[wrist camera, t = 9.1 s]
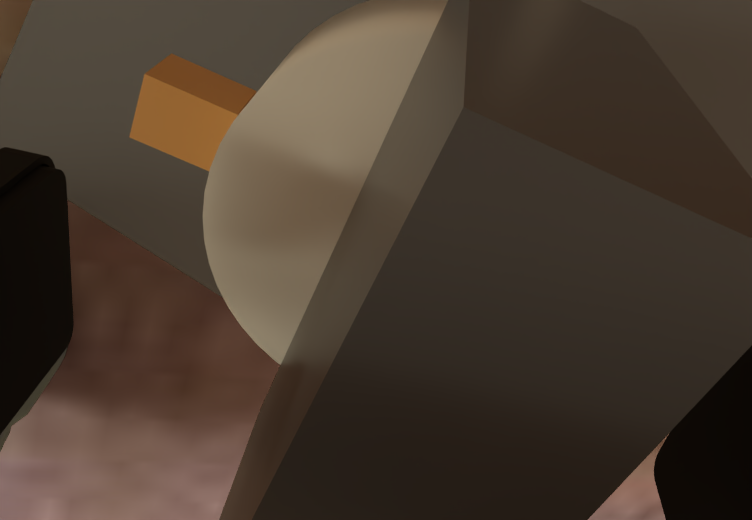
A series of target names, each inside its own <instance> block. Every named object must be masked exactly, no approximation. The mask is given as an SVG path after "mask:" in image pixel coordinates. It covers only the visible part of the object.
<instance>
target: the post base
mask: <svg viewBox="0 0 752 520" xmlns="http://www.w3.org/2000/svg"><path fill="white" fill-rule="evenodd" d="M366 1H369V0H33V2H32V4H31V6H30V9H29V11H28V13H27V16H26V18H25V21H24V23H23V25H22V28H21V30H20V33H19V35H18V37H17V40H16V42H15V44H14V47H13V49H12V52H11V54H10V56H9V59H8V61H7V64H6V66H5V68H4V71H3V73H2V76H1V78H0V149H1V148H4V147H9V148H14V149H18V150H23V151H27V152H32V153H36V154H41V155H45V156H49V157H50V158H51V159H52V161H53V163H54V165H55V169H60V170H62V171H63V172H64V174H65V177H66V185H67V200H69V201H71V202H72V203H74V204H75V205H77V206H78V207H80V208H82V209H83V210H85V211H86V212H88V213H90V214H91V215H93V216H94V217H96V218H97V219H99V220H101V221H102V222H104V223H105V224H107V225H109V226H110V227H112V228H113V229H115V230H116V231H118V232H120V233H121V234H123V235H124V236H126V237H128V238H129V239H131V240H132V241H134V242H135V243H137V244H139V245H140V246H142V247H143V248H145V249H147V250H148V251H150V252H151V253H153V254H154V255H156V256H158V257H159V258H161V259H162V260H164V261H166V262H167V263H169V264H170V265H172V266H173V267H175V268H177V269H178V270H180V271H181V272H183V273H185V274H186V275H188V276H189V277H191V278H192V279H194V280H196V281H197V282H199V283H200V284H202V285H204V286H205V287H207V288H208V289H210V290H211V291H213V292H215V293H216V294H218V295H219V296H221V297H222V295H221V293H220V291H219V289H218V287H217V284H216V282H215V279H214V276H213V273H212V270H211V268H210V265H209V261H208V256H207V252H206V247H205V242H204V231H203V204H204V192H205V188H206V183H207V179H208V175H209V171H207V170H205V169H202V168H200V167H198V166H195V165H193V164H191V163H188V162H186V161H183V160H181V159H179V158H176V157H174V156H172V155H169V154H167V153H165V152H162V151H160V150H158V149H155V148H153V147H151V146H148V145H146V144H144V143H141V142H139V141H137V140H134V139H132V138H130V137H129V136H130V132H131V128H132V124H133V119H134V115H135V111H136V107H137V103H138V99H139V94H140V90H141V86H142V82H143V78H144V74H145V73H146V72H148V71H149V70H150V69H152V68H153V67H154V66H156V65H157V64H158V63H160V62H161V61H162V60H163V59H165V58H166V57H167V56H169V55H170V54H171V53H172V54H174V55H176V56H178V57H181V58H183V59H185V60H187V61H190V62H192V63H194V64H196V65H199V66H201V67H203V68H205V69H208V70H210V71H212V72H214V73H217V74H219V75H221V76H223V77H226V78H228V79H230V80H233V81H235V82H237V83H239V84H242V85H244V86H246V87H248V88H251V89H253V90H255V91H257V92H258V90H259V89H260V88H261V87H262V86H263V84H264V83H265V82H266V81H267V79H268V78H269V77H270V76H271V75H272V73H273V72H274V71H275V70H276V68H277V67H278V66H279V65H280V64H281V62H282V61H283V60H284V59H285V58H286V56H287V55H288V54H289V53H290V51H291V50H292V49H293V48H294V47H295V46H296V45H297V44H298V43H299V42H300V41H301V40H302V39H303V38H304V37H305V36H307V35H308V34H309V33H310V32H311V31H312V30H313V29H315V28H316V27H318V26H319V25H321V24H322V23H324V22H325V21H327V20H328V19H330V18H331V17H332V16H334V15H336V14H338V13H340V12H342V11H344V10H346V9H349V8H351V7H353V6H355V5H357V4H360V3H363V2H366ZM580 1H582V2H584V3H586V4H589V5H591V6H593V7H595V8H597V9H599V10H601V11H603V12H605V13H607V14H609V15H611V16H613V17H615V18H618V19H620V20H622V21H624V22H626V23H628V24H630V25H632V26H634V27H636V28H637V29H638V30H639V31H640V33H641V34H642V35H643V37H644V38H645V39H646V41H647V42H648V43H649V45H650V46H651V47H652V48H653V50H654V51H655V52H656V54H657V55H658V56H659V58H660V59H661V60H662V62H663V63H664V64H665V66H666V67H667V68H668V69H669V71H670V72H671V73H672V75H673V76H674V77H675V79H676V80H677V81H678V83H679V84H680V85H681V86H682V88H683V89H684V90H685V92H686V93H687V94H688V96H689V97H690V98H691V100H692V101H693V102H694V104H695V105H696V106H697V107H698V109H699V110H700V111H701V113H702V114H703V115H704V117H705V118H706V119H707V121H708V122H709V123H710V124H711V126H712V127H713V128H714V130H715V131H716V132H717V134H718V135H719V136H720V138H721V139H722V140H723V142H724V143H725V144H726V145H727V147H728V148H729V149H730V151H731V152H732V153H733V155H734V156H735V157H736V159H737V160H738V161H739V162H740V164H741V165H742V166H743V168H744V169H745V170H746V172H747V173H748V174H749V176H750V177H751V178H752V0H580ZM257 92H256V93H257Z"/></svg>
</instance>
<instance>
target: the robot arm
mask: <svg viewBox="0 0 752 520" xmlns="http://www.w3.org/2000/svg"><path fill="white" fill-rule="evenodd" d="M72 332H73V306H72V286H71V266H70V246H69V226H68V205H67V185H66V177H65V174H64V172H63V171H62V170H60V169H55V165H54V163H53V161H52V159H51V158H50V157H49V156H45V155H41V154H36V153H32V152H27V151H23V150H18V149H14V148H9V147H4V148H1V149H0V435H1V433H2V432H3V431H4V429H5V428H6V427H7V426H8V424H9V423H10V422H11V420H12V419H13V418H14V416H15V415H16V414H17V412H18V411H19V410H20V409H21V407H22V406H23V405H24V403H25V402H26V401H27V399H28V398H29V397H30V395H31V394H32V393H33V392H34V390H35V389H36V388H37V386H38V385H39V384H40V382H41V381H42V380H43V378H44V377H45V376H46V375H47V373H48V372H49V371H50V369H51V368H52V367H53V365H54V364H55V363H56V361H57V360H58V359H59V358H60V356H61V355H62V354H63V352H64V351H65V349H66V348H67V346H68V344H69V342H70V339H71V336H72ZM654 477H655V482H656V486H657V489H658V493H659V497H660V500H661V504H662V507H663V511H664V514H665V518H666V520H752V346H751V347H750V348H749V349H748V350H747V351H746V352H745V353H744V354H743V355H742V356H741V357H740V358H739V359H738V360H737V361H736V363H735V364H734V365H733V366H732V367H731V368H730V369H729V370H728V371H727V372H726V373H725V374H724V375H723V376H722V377H721V378H720V380H719V381H718V382H717V383H716V384H715V385H714V386H713V387H712V388H711V389H710V390H709V391H708V392H707V393H706V394H705V395H704V396H703V398H702V399H701V400H700V401H699V402H698V403H697V404H696V405H695V406H694V407H693V408H692V409H691V410H690V411H689V412H688V413H687V415H686V416H685V417H684V418H683V419H682V420H681V421H680V422H679V423H678V424H677V425H676V426H675V427H674V428H673V429H672V430H671V432H670V433H669V435H668V437H667V439H666V440H665V442H664V444H663V445H662V447H661V449H660V451H659V452H658V455H657V457H656V461H655V466H654Z"/></svg>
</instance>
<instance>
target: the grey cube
mask: <svg viewBox="0 0 752 520" xmlns="http://www.w3.org/2000/svg"><path fill="white" fill-rule="evenodd" d="M256 92H257V91H255V90H253V89H251V88H248V87H246V86H244V85H242V84H239V83H237V82H235V81H233V80H230V79H228V78H226V77H223V76H221V75H219V74H217V73H214V72H212V71H210V70H208V69H205V68H203V67H201V66H199V65H196V64H194V63H192V62H190V61H187V60H185V59H183V58H181V57H178V56H176V55H174V54H172V53H171V54H170V55H169V56H167V57H166V58H165V59H163V60H162V61H161V62H160V63H158V64H157V65H156V66H154V67H153V68H152V69H150V70H149V71H148V72H146V73H145V74H144V78H143V82H142V86H141V90H140V94H139V99H138V103H137V107H136V111H135V115H134V119H133V124H132V128H131V132H130V136H129V137H130V138H132V139H134V140H137V141H139V142H141V143H144V144H146V145H148V146H151V147H153V148H155V149H158V150H160V151H162V152H165V153H167V154H169V155H172V156H174V157H176V158H179V159H181V160H183V161H186V162H188V163H191V164H193V165H195V166H198V167H200V168H202V169H205V170H207V171H209V175H208V179H207V183H206V188H205V192H204V204H203V231H204V242H205V247H206V252H207V256H208V261H209V265H210V268H211V270H212V273H213V276H214V279H215V282H216V284H217V287H218V289H219V291H220V293H221V295H222V297H223V298H224V300H225V302H226V304H227V306H228V308H229V309H230V311H231V312H232V314H233V315H234V317H235V318H236V320H237V321H238V323H239V324H240V325H241V327H242V328H243V329H244V330H245V331H246V333H247V334H248V335H249V336H250V337H251V338H252V339H253V341H254V342H255V343H256V344H257V345H258V346H259V347H260V348H261V349H262V350H263V351H265V352H266V353H267V354H268V355H269V356H270V357H271V358H272V359H273V360H274V361H276V362H277V363H278V364H280V367H279V370H278V372H277V374H276V376H275V378H274V380H273V383H272V385H271V387H270V389H269V391H268V394H267V396H266V398H265V400H264V402H263V404H262V407H261V409H260V412H259V414H258V417H257V420H256V422H255V425H254V428H253V430H252V433H251V436H250V438H249V441H248V444H247V447H246V449H245V452H244V455H243V457H242V460H241V463H240V465H239V468H238V471H237V473H236V476H235V479H234V482H233V484H232V487H231V490H230V492H229V495H228V498H227V500H226V503H225V506H224V508H223V511H222V514H221V517H220V519H219V520H588V519H589V517H590V516H591V515H592V514H593V513H594V512H595V511H596V510H597V509H598V508H599V507H600V506H601V505H602V504H603V503H604V502H605V500H606V499H607V498H608V497H609V496H610V495H611V494H612V493H613V492H614V491H615V490H616V489H617V488H618V487H619V486H620V485H621V484H622V482H623V481H624V480H625V479H626V478H627V477H628V476H629V475H630V474H631V473H632V472H633V471H634V470H635V469H636V468H637V467H638V465H639V464H640V463H641V462H642V461H643V460H644V459H645V458H646V457H647V456H648V455H649V454H650V453H651V452H652V451H653V450H654V448H655V447H656V446H657V445H658V444H659V443H660V442H661V441H662V440H663V439H664V438H665V437H666V436H667V435H668V434H669V433H670V432H671V430H672V429H673V428H674V427H675V426H676V425H677V424H678V423H679V422H680V421H681V420H682V419H683V418H684V417H685V416H686V415H687V413H688V412H689V411H690V410H691V409H692V408H693V407H694V406H695V405H696V404H697V403H698V402H699V401H700V400H701V399H702V398H703V396H704V395H705V394H706V393H707V392H708V391H709V390H710V389H711V388H712V387H713V386H714V385H715V384H716V383H717V382H718V381H719V380H720V378H721V377H722V376H723V375H724V374H725V373H726V372H727V371H728V370H729V369H730V368H731V367H732V366H733V365H734V364H735V363H736V361H737V360H738V359H739V358H740V357H741V356H742V355H743V354H744V353H745V352H746V351H747V350H748V349H749V348H750V347H751V346H752V178H751V177H750V176H749V174H748V173H747V172H746V170H745V169H744V168H743V166H742V165H741V164H740V162H739V161H738V160H737V159H736V157H735V156H734V155H733V153H732V152H731V151H730V149H729V148H728V147H727V145H726V144H725V143H724V142H723V140H722V139H721V138H720V136H719V135H718V134H717V132H716V131H715V130H714V128H713V127H712V126H711V124H710V123H709V122H708V121H707V119H706V118H705V117H704V115H703V114H702V113H701V111H700V110H699V109H698V107H697V106H696V105H695V104H694V102H693V101H692V100H691V98H690V97H689V96H688V94H687V93H686V92H685V90H684V89H683V88H682V86H681V85H680V84H679V83H678V81H677V80H676V79H675V77H674V76H673V75H672V73H671V72H670V71H669V69H668V68H667V67H666V66H665V64H664V63H663V62H662V60H661V59H660V58H659V56H658V55H657V54H656V52H655V51H654V50H653V48H652V47H651V46H650V45H649V43H648V42H647V41H646V39H645V38H644V37H643V35H642V34H641V33H640V31H639V30H638V29H637V28H636V27H634V26H632V25H630V24H628V23H626V22H624V21H622V20H620V19H618V18H615V17H613V16H611V15H609V14H607V13H605V12H603V11H601V10H599V9H597V8H595V7H593V6H591V5H589V4H586V3H584V2H582V1H580V0H369V1H366V2H363V3H360V4H357V5H355V6H353V7H351V8H349V9H346V10H344V11H342V12H340V13H338V14H336V15H334V16H332V17H331V18H330V19H328V20H327V21H325V22H324V23H322V24H321V25H319V26H318V27H316V28H315V29H313V30H312V31H311V32H310V33H309V34H308V35H307V36H305V37H304V38H303V39H302V40H301V41H300V42H299V43H298V44H297V45H296V46H295V47H294V48H293V49H292V50H291V51H290V53H289V54H288V55H287V56H286V58H285V59H284V60H283V61H282V62H281V64H280V65H279V66H278V67H277V68H276V70H275V71H274V72H273V73H272V75H271V76H270V77H269V78H268V79H267V81H266V82H265V83H264V84H263V86H262V87H261V88H260V89H259V90H258V92H257V93H256Z"/></svg>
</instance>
